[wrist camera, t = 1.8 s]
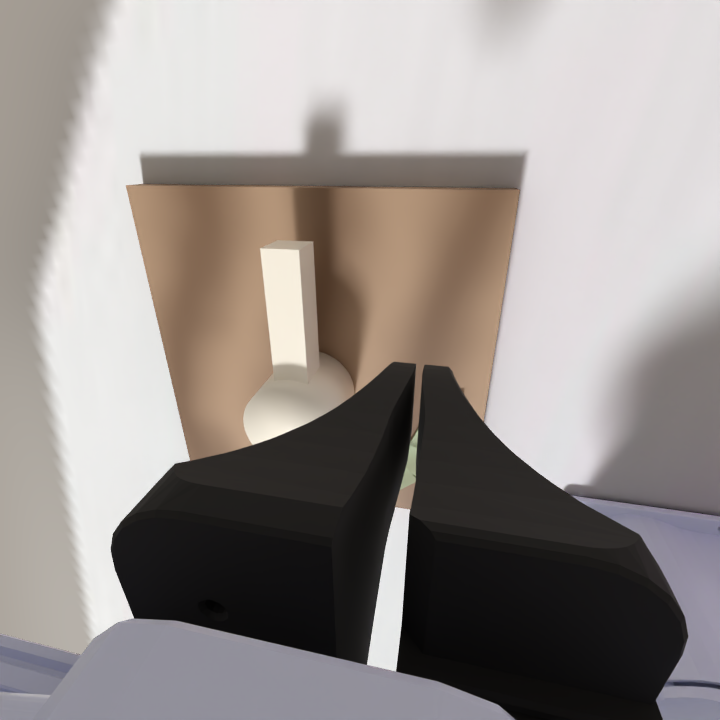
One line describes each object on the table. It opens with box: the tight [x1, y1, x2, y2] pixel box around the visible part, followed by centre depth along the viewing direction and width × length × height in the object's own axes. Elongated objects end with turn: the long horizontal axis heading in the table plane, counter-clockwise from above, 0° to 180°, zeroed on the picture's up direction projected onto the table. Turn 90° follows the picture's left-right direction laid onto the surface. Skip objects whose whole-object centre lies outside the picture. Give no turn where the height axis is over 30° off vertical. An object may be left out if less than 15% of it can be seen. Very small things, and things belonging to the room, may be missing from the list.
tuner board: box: [126, 184, 520, 509], centre depth 22 cm, size 18×18×2 cm
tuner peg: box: [243, 240, 354, 445], centre depth 20 cm, size 16×4×5 cm, turn 0°
